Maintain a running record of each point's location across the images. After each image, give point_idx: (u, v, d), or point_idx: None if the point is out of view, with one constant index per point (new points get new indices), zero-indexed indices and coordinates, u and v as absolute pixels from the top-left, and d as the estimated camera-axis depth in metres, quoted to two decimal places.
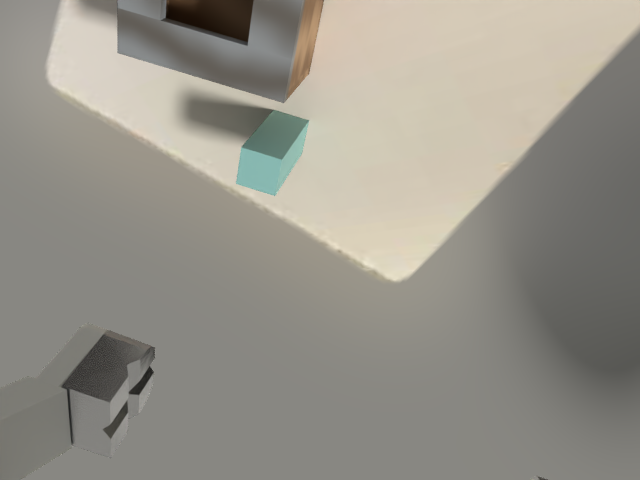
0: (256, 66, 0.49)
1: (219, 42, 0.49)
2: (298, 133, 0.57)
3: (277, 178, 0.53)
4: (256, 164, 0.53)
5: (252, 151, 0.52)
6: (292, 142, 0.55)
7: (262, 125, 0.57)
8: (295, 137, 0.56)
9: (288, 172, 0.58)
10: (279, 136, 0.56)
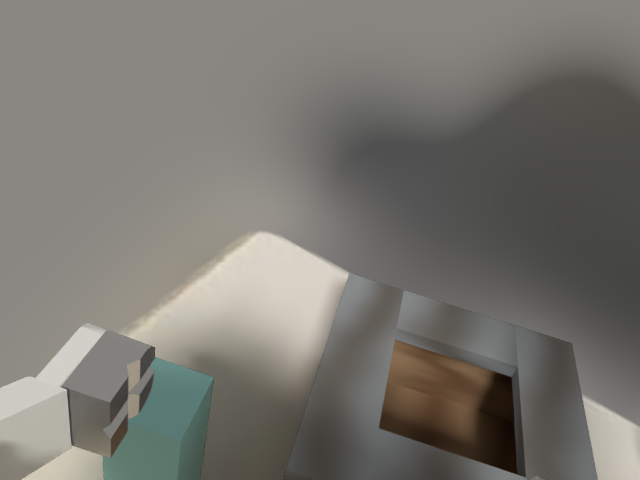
0: (348, 435, 0.29)
1: (378, 390, 0.32)
2: None
3: (140, 425, 0.26)
4: (176, 393, 0.28)
5: (203, 392, 0.28)
6: None
7: (203, 443, 0.32)
8: None
9: (110, 468, 0.29)
10: (189, 463, 0.30)
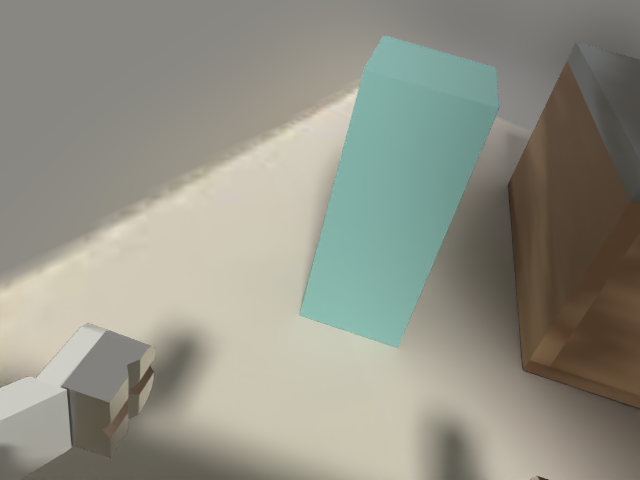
0: None
1: None
2: (428, 272, 0.20)
3: (428, 87, 0.16)
4: (457, 71, 0.18)
5: (493, 76, 0.18)
6: (450, 220, 0.18)
7: None
8: (438, 248, 0.19)
9: (341, 200, 0.19)
10: None
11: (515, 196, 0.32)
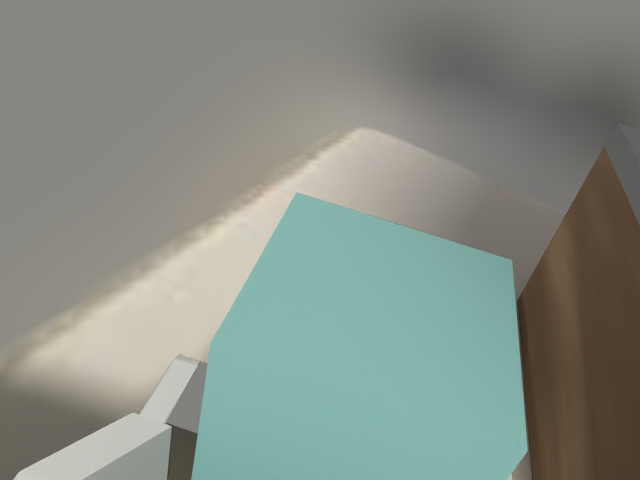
0: None
1: None
2: None
3: (361, 390, 0.07)
4: (434, 295, 0.09)
5: (508, 296, 0.09)
6: None
7: None
8: None
9: None
10: None
11: (529, 331, 0.23)
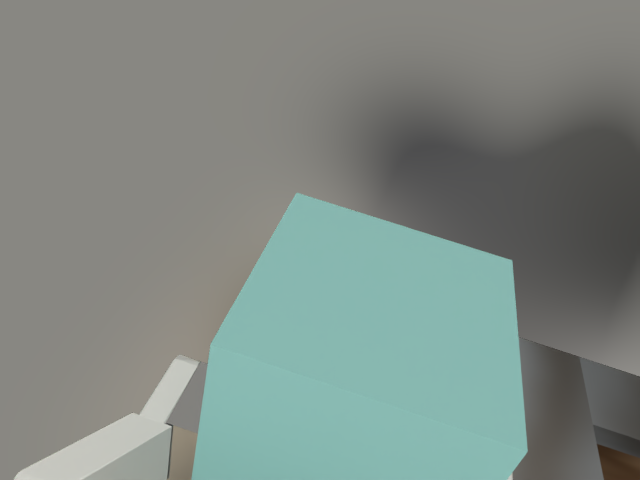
0: None
1: None
2: None
3: (361, 390, 0.07)
4: (434, 295, 0.09)
5: (509, 296, 0.09)
6: None
7: None
8: None
9: None
10: None
11: None
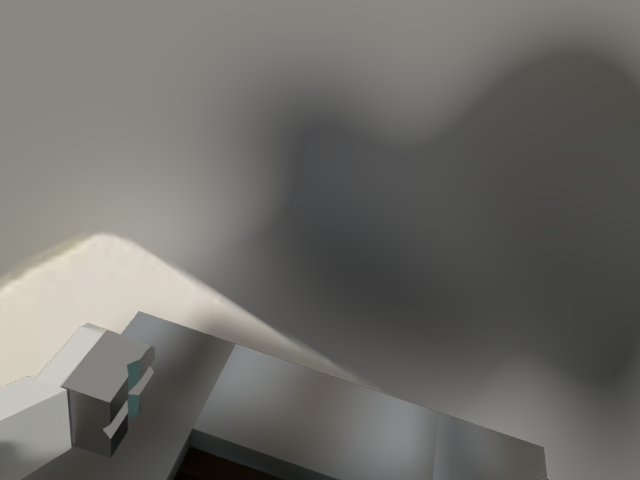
0: None
1: None
2: None
3: None
4: None
5: None
6: None
7: None
8: None
9: None
10: None
11: None
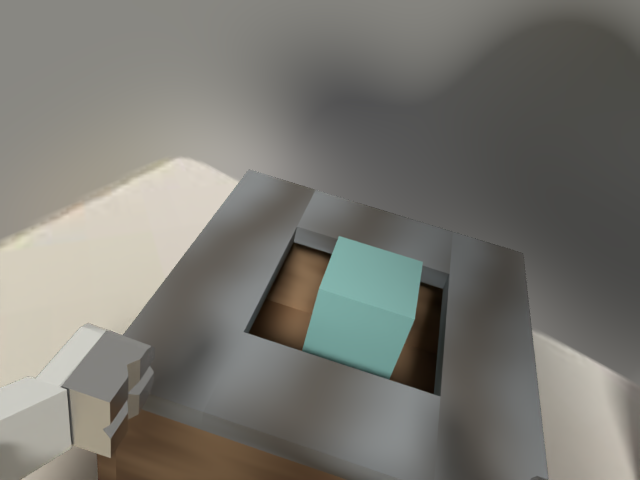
0: (197, 338, 0.21)
1: (254, 290, 0.24)
2: None
3: (365, 302, 0.23)
4: (390, 274, 0.24)
5: (418, 275, 0.25)
6: None
7: None
8: None
9: None
10: None
11: None
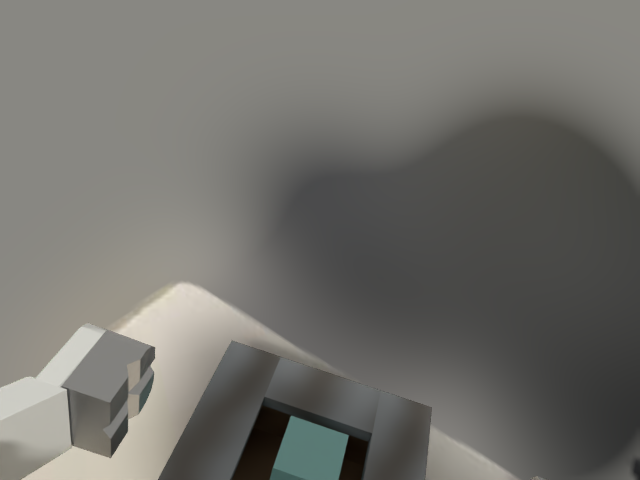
0: None
1: (231, 460, 0.36)
2: None
3: (303, 477, 0.34)
4: (324, 450, 0.36)
5: (344, 448, 0.36)
6: None
7: None
8: None
9: None
10: None
11: None
